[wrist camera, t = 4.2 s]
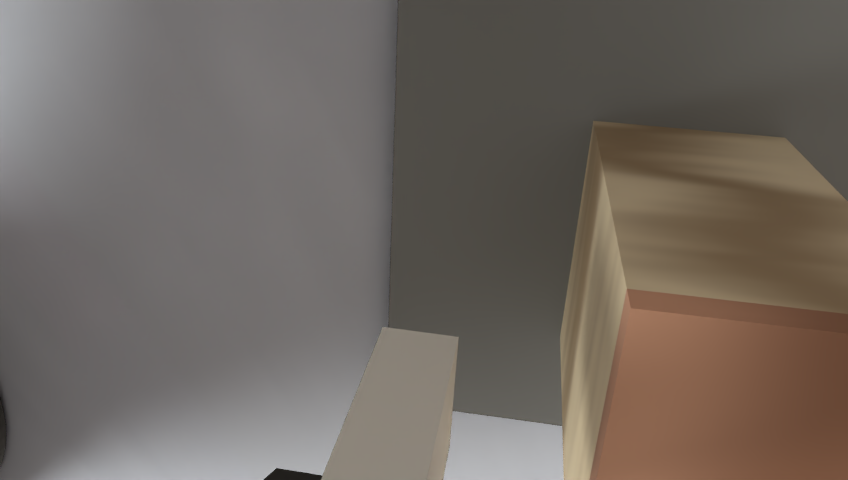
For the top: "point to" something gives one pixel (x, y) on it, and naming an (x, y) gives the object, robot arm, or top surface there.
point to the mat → (569, 150)
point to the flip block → (705, 311)
